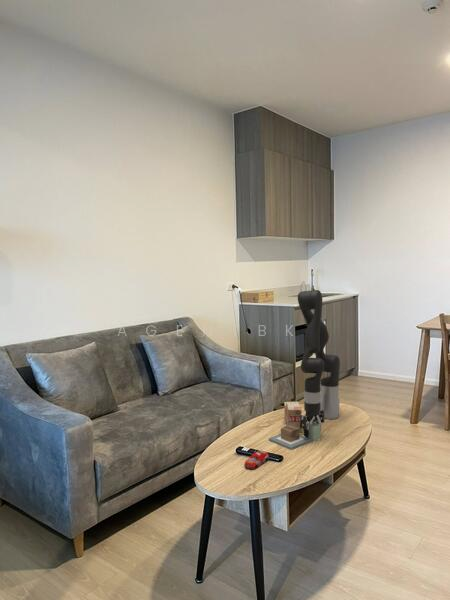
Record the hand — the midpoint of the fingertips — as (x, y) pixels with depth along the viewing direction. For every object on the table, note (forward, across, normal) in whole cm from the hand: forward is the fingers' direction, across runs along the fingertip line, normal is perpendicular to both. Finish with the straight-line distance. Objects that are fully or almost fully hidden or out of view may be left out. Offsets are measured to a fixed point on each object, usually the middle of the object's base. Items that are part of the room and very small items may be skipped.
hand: (312, 434), depth 203 cm
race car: (+3, +37, +2) cm, 37 cm away
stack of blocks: (+3, -6, -18) cm, 19 cm away
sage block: (+2, 0, 0) cm, 2 cm away
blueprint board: (+2, +10, -5) cm, 11 cm away
